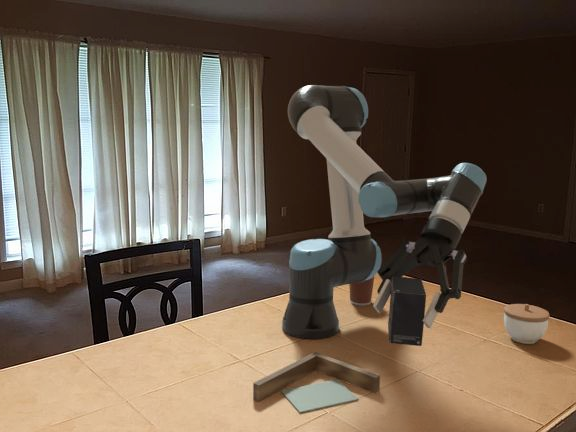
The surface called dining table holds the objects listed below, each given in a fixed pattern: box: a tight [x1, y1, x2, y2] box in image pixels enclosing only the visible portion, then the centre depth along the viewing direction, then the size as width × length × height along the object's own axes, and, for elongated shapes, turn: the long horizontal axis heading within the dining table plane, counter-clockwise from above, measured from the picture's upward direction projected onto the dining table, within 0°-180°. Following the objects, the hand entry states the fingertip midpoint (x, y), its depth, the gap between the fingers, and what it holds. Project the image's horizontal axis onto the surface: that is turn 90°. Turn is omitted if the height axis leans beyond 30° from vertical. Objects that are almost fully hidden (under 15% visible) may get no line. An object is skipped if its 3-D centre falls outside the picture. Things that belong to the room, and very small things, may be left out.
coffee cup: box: [348, 273, 378, 307], centre depth 168 cm, size 9×9×12 cm
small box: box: [387, 276, 427, 347], centre depth 109 cm, size 11×6×10 cm, turn 172°
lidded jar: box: [503, 303, 550, 345], centre depth 142 cm, size 11×11×9 cm
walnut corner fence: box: [252, 351, 381, 402], centre depth 113 cm, size 17×20×4 cm
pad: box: [280, 378, 359, 414], centre depth 113 cm, size 9×13×1 cm
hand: (400, 316), depth 108 cm, fingers closed on small box, 10 cm apart
